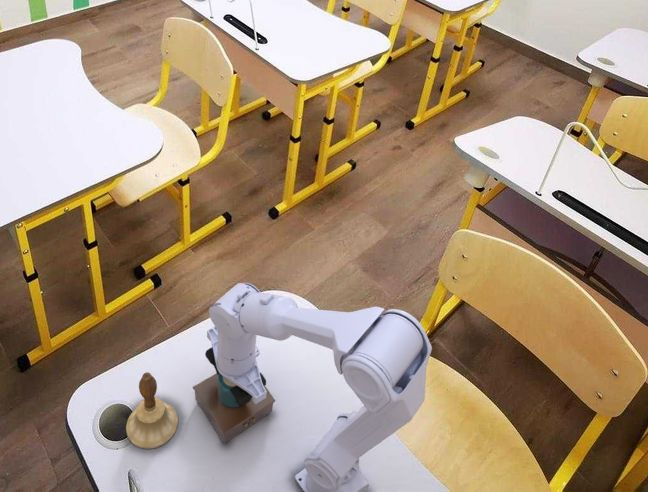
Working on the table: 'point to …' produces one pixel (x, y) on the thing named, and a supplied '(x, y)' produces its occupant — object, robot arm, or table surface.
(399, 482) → the table surface
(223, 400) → the cup
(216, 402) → the brown wooden box
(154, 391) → the hand bell
